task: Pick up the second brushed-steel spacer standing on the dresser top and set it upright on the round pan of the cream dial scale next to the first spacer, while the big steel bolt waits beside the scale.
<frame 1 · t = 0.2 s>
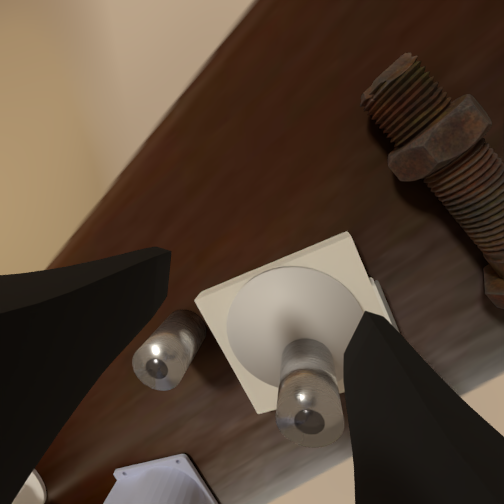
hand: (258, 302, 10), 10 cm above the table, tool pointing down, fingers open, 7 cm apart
spacer b: (186, 328, 23), on the table
spacer a: (307, 360, 19), point 2 cm above the table, touching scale
bolt: (448, 180, 17), on the table
white phone stand: (9, 476, 34), on the table
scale: (298, 325, 21), on the table
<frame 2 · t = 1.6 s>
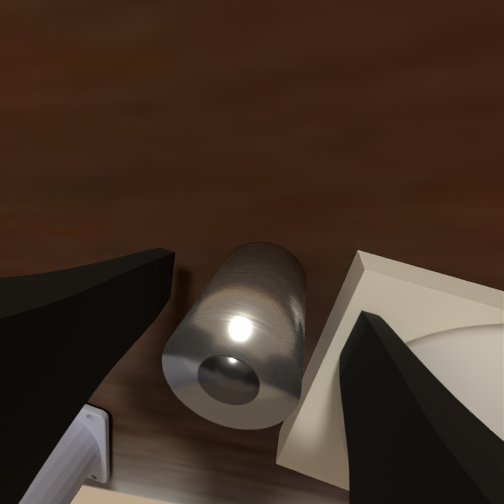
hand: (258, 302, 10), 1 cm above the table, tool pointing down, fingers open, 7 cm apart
spacer b: (262, 282, 11), on the table
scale: (448, 402, 12), on the table
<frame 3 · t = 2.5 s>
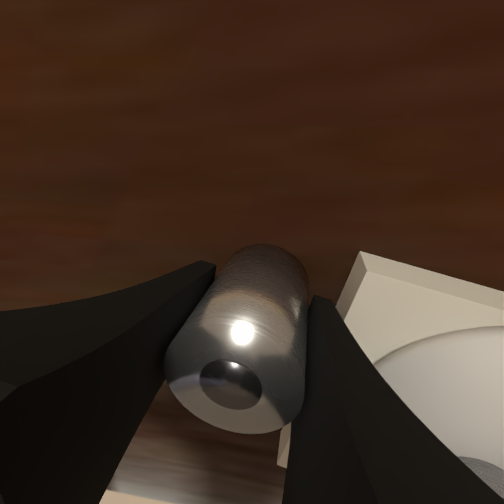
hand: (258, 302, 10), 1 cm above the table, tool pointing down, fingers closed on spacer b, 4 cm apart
spacer b: (264, 284, 11), on the table, touching gripper
spacer a: (457, 488, 10), point 2 cm above the table, touching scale
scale: (450, 404, 12), on the table
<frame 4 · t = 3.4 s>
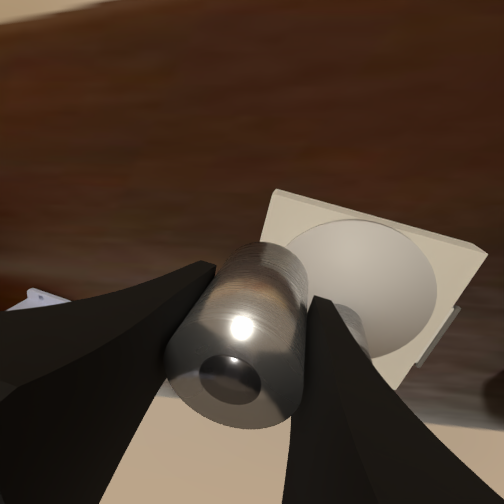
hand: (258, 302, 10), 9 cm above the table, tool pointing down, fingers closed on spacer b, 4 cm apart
spacer b: (264, 282, 11), point 7 cm above the table, touching gripper
spacer a: (332, 327, 17), point 2 cm above the table, touching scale
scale: (338, 289, 19), on the table
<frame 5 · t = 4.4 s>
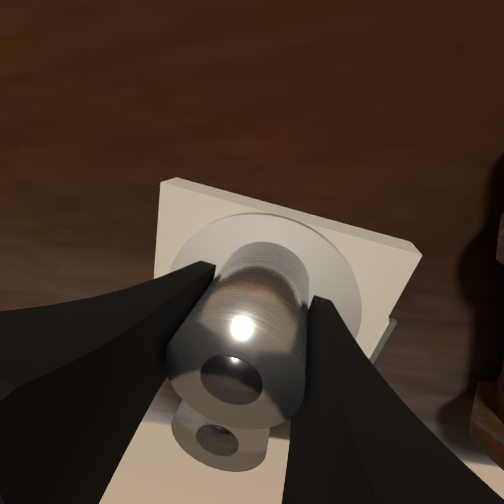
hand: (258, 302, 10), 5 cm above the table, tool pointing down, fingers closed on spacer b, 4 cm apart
spacer b: (265, 282, 11), point 4 cm above the table, touching gripper
spacer a: (248, 344, 14), point 2 cm above the table, touching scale
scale: (262, 297, 16), on the table
when the fingers open (5 cm above the table, at t = 4.8 s): spacer b drops 1 cm, resting on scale.
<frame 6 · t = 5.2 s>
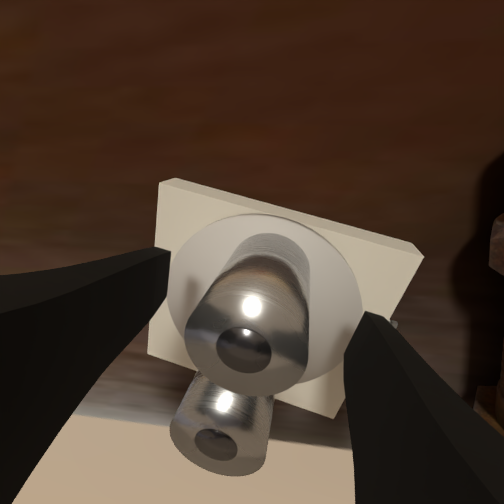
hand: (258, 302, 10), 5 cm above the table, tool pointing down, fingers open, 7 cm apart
spacer b: (269, 270, 12), point 2 cm above the table, touching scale
spacer a: (247, 346, 14), point 2 cm above the table, touching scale
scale: (262, 298, 16), on the table
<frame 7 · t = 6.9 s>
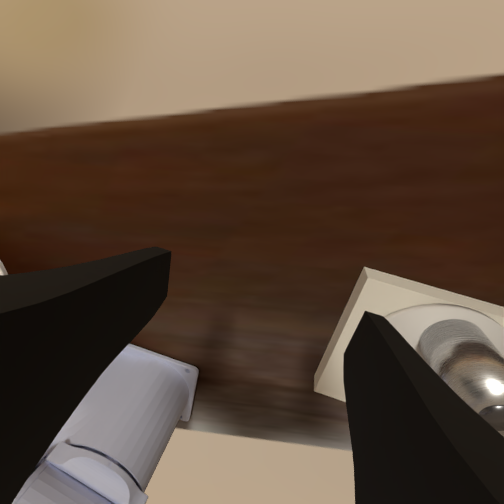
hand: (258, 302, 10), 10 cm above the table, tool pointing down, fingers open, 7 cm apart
spacer b: (451, 342, 17), point 2 cm above the table, touching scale
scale: (414, 351, 21), on the table
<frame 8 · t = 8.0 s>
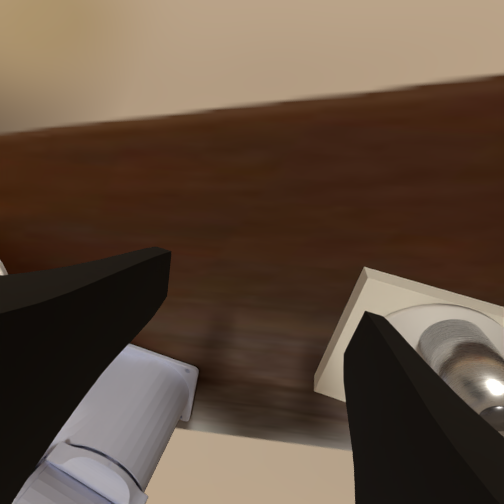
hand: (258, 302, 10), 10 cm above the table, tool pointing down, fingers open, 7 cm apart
spacer b: (451, 342, 17), point 2 cm above the table, touching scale
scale: (414, 351, 21), on the table
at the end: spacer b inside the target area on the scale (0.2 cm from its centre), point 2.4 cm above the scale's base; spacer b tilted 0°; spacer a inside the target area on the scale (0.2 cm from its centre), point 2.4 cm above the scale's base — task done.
